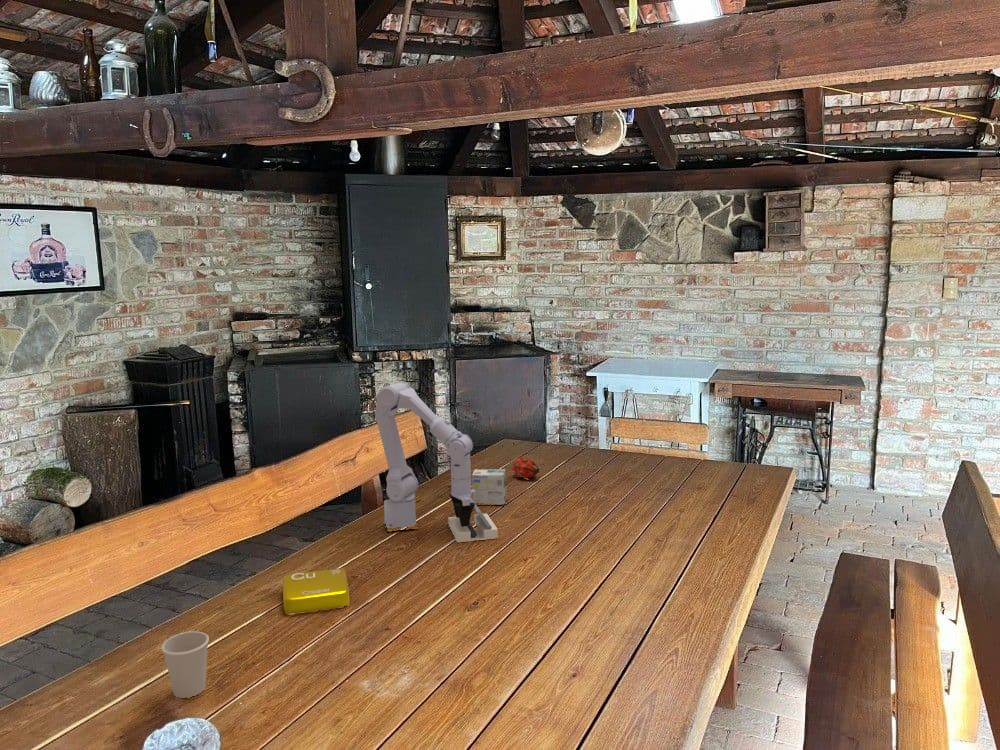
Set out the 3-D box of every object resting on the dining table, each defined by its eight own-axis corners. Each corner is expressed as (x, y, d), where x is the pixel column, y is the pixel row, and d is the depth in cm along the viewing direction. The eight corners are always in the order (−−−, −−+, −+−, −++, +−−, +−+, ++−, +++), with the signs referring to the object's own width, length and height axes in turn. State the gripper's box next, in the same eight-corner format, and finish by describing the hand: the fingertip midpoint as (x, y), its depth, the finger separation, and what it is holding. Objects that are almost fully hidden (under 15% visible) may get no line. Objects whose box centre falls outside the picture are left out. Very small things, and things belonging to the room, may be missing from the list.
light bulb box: (506, 499, 252) (506, 468, 250) (504, 506, 245) (504, 474, 244) (474, 499, 253) (474, 468, 251) (472, 506, 246) (471, 474, 245)
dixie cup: (219, 677, 148) (215, 630, 147) (204, 702, 140) (199, 652, 138) (176, 678, 148) (171, 631, 146) (158, 703, 140) (153, 654, 138)
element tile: (284, 618, 173) (282, 598, 172) (284, 590, 187) (283, 572, 187) (350, 609, 177) (349, 589, 176) (345, 582, 191) (344, 565, 191)
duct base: (457, 543, 214) (456, 533, 214) (448, 526, 228) (448, 517, 227) (497, 539, 217) (497, 529, 217) (487, 522, 231) (486, 513, 230)
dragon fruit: (515, 477, 281) (536, 489, 273) (502, 469, 276) (523, 480, 267) (526, 458, 283) (548, 469, 274) (513, 449, 277) (535, 460, 268)
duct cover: (477, 512, 215) (480, 510, 215) (468, 498, 227) (470, 496, 228) (489, 529, 217) (492, 527, 217) (480, 514, 229) (482, 513, 229)
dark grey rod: (469, 537, 217) (470, 531, 217) (462, 525, 226) (463, 519, 226) (476, 537, 217) (477, 531, 217) (468, 526, 227) (469, 519, 227)
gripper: (479, 482, 213) (480, 528, 215) (469, 469, 227) (470, 512, 229) (455, 485, 211) (456, 531, 214) (446, 471, 225) (447, 514, 227)
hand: (462, 521), depth 221 cm, fingers open, 7 cm apart
